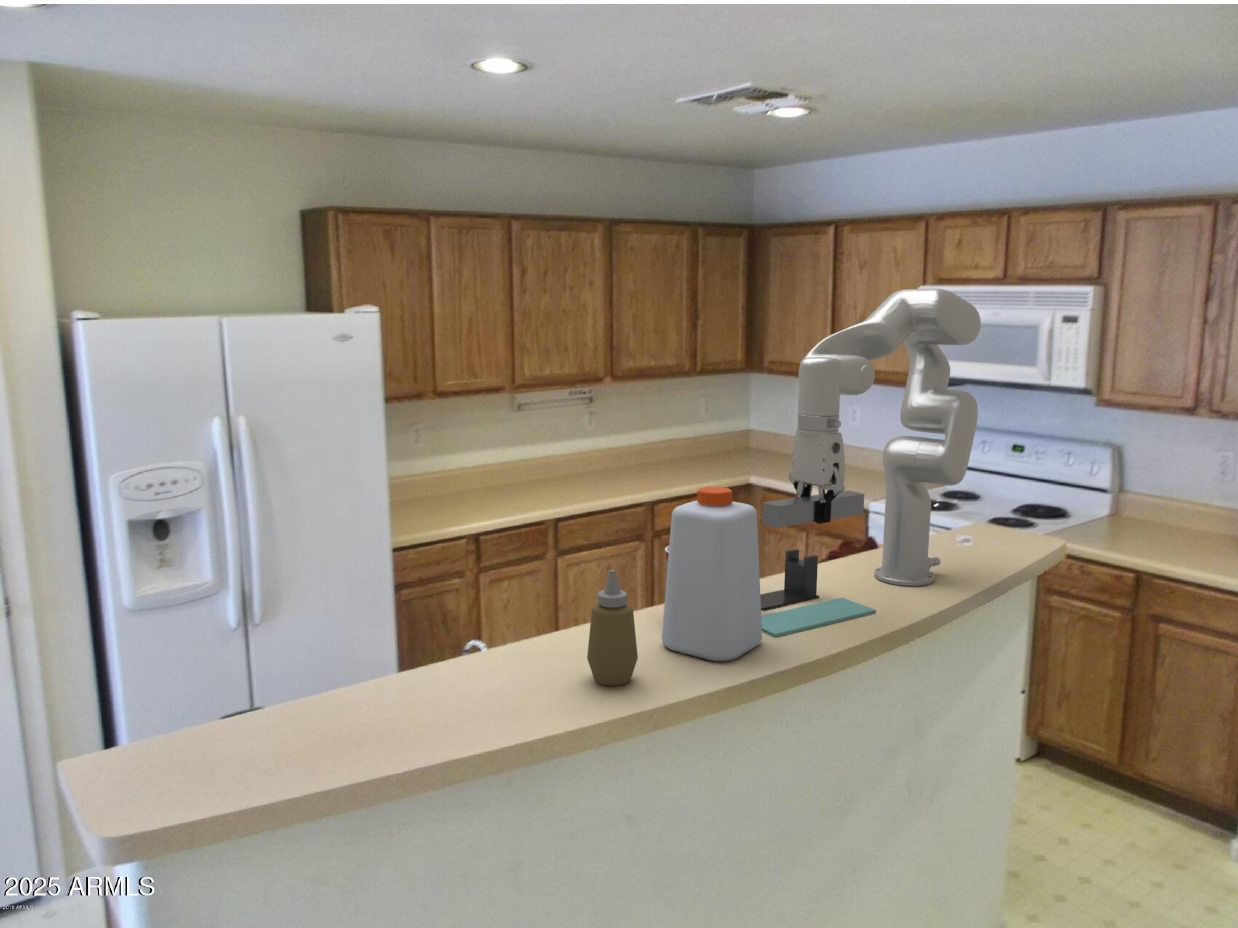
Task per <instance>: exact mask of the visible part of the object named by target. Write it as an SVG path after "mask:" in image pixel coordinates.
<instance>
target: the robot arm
mask: <svg viewBox="0 0 1238 928" xmlns="http://www.w3.org/2000/svg"><path fill="white" fill-rule="evenodd" d="M981 322H982V320H981V316H980V312H979V311H978V309H977V308H976V306H974V305H973V304H972V303H970V302H968V301H967V300H965V299H964V298H962V297H961V296H959V295H957V294H956V293H953V292H952V291H949V290H947V289H942V288H907V289H899V290H897V291H895V292H892V293H891V294H890V295H889V296H887V298H886V299H884V300H883V301H882V303H881V304H880V305H879V306H877V308H876V309H875V310H874V311H873V312H872V313H871V314H870V315H869V316H867V317H866V319H865V320H864V321H861V322H859V323H855V324H854V325H851V326H849V327H846V328H845V329H842V330H839V331H837V332H834V333H833V334H830V335H828V336H826V337H824V338H823V339H822V340H820V341H819V342H818V343H817V344H815V345H814V347H812V348H811V349H810V351H808V353H807V354H806V355H805V356H804V357H803V359H801V361H800V364H799V368H798V397H797V425H796V426H797V428H796V429H795V433H794V438H793V443H792V451H791V459H790V460H791V462H790V463H791V464H790V472H789V474H788V477H787V478H788V481H789V482H790V483H791V485H793V488H794V489H795V491H796V498H798V497H805V496H812V491H813V487H814V486H816V487H817V490H818V491H817V492H818V495H819V501H820V502H817V512H816V522H815V523H816V524H819V525H820V524H827V523H831V521H832V519H831V502H833V501H834V498H835V497H836V496H837V495H838V494H840V493H841V492H843V491H846V485H845V484H844V483H845V478H846V477H845V476H846V475H845V474H846V473H845V471H846V464H845V463H846V462H845V460H846V459H845V447H844V439H843V435H842V432H839V429H840V428H841V425H842V422H841V421H840V408H841V407H840V405H841V404H840V403H841V402H840V401H841V396H842V395H844V396H858V395H862V394H864V393H866V392H867V391H869V390H870V389H871V388H872V386H873V384H874V381H875V376H876V374H875V373H876V371H875V368H874V365H873V363H872V362H871V361H874V360H878V359H879V360H880V359H882V358H885V357H888V356H891V355H892V354H893V353H895V351H896V350H897V349H898V348H899V347H900V346H901V345H902V344H904V347H905V350H906V353H907V355H908V361H909V369H908V374H907V380H906V384H905V389H904V394H903V398H902V402H901V408H900V414H899V418H900V423H901V425H902V426H903V427H904V428H905V429H906V430H910V431H914V432H919V433H929V434H939V435H940V434H941V435H944V439H939V438H932V437H931V438H930V437H925V436H924V437H923V436H922V437H921V436H913V435H901V436H900V435H899V436H896V437H893V438H891V439H890V440H889V441H888V442H887V443H886V444H885V446H884V448H883V451H882V464H883V471H884V478H885V503H884V519H883V520H884V523H883V525H884V526H883V544H882V560H881V561H882V563H881V564H882V565H881V566H879V567H877V568H876V569H875V570H874V577H875V579H878V580H879V581H881V582H883V583H887V584H891V585H897V586H905V587H907V586H908V587H920V586H926V585H931V584H933V582H935V575H934V573H933V572H931V571H930V569H931V568H932V567H937V566H940V564H941V558H940V557H938V556H935V557H929V546H930V531H931V529H930V528H931V527H930V526H931V512H932V501H931V500H932V499H931V495H930V494H929V491H928V489H927V487H926V486H925V484H933V485H938V486H939V485H940V486H949V487H951V486H956V485H958V484H960V483H961V482H962V481H963V479H964V478H965V477H966V474H967V472H968V467H969V462H970V459H971V458H970V457H971V454H972V453H971V452H972V449H973V443H974V439H975V434H976V430H977V427H978V426H977V425H978V418H979V407H978V403H977V400H976V398H975V397H974V395H973V394H971V393H969V392H968V391H965V390H964V391H963V390H961V389H960V390H957V389H948V386H949V382H950V376H951V365H950V363H949V360H948V359H947V358H948V357H946V355H945V354H944V352H943V350H942V349H941V348H940V346H967V345H970V344H971V343H972V342H974V341H975V340H976V339H977V337H978V336H979V334H980V331H981V325H982V323H981ZM939 345H940V346H939Z"/></svg>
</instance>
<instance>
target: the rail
mask: <svg viewBox="0 0 1238 928" xmlns="http://www.w3.org/2000/svg"><path fill="white" fill-rule="evenodd" d="M817 502H820V501H819V494H814V495H811V496H805V497H793V498H783V499H778V500H776V499H775V500H771V501H763V502H762V521H761V522H762V524H763V525H766V526H770V527H772V528H777V529H779V528H784V527H785V528H786V527H792V526H797V525H804V524H811V523H816V512H817ZM864 506H865V493H862V492H857V491H852V490H844V491H843V492H841V493H840V494H838V495H837V496H836V497H835V498H834V501H833V502H831V520H837V519H841V518H849V517H854V516H862V515H864V508H865V507H864Z"/></svg>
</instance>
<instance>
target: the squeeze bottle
mask: <svg viewBox="0 0 1238 928" xmlns="http://www.w3.org/2000/svg"><path fill="white" fill-rule="evenodd" d="M606 577H607V578H606V582H605V587H604V589H603V590H599V592H598V593H597V604H596V605H595V606H593V608H592V609H591V615H590V625H589V637H588V646H587V655H586V656H587V657H586V659H587V663H588V665H589V667H590V671H591V674H592V677H593V679H594V682H595V683H597V684H599V685H603V686H605V687H606V686H608V687H617V686H623V685H626V684H628V683H629V682H630V681H631V679H632V677H633V673H634V670H635V667H636V664H637V661H638V659H639V658H638V657H639V655H638V654H639V653H638V646H637V635H636V626H635V625H636V624H635V617H634V616H635V615H634V609H633V607H632V606H631V605H630V604H628V593H627V592H626V590H622V589H621V587H620V581H619V577H618V573H617V570H616V569H610V570H608V573H607V576H606Z"/></svg>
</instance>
